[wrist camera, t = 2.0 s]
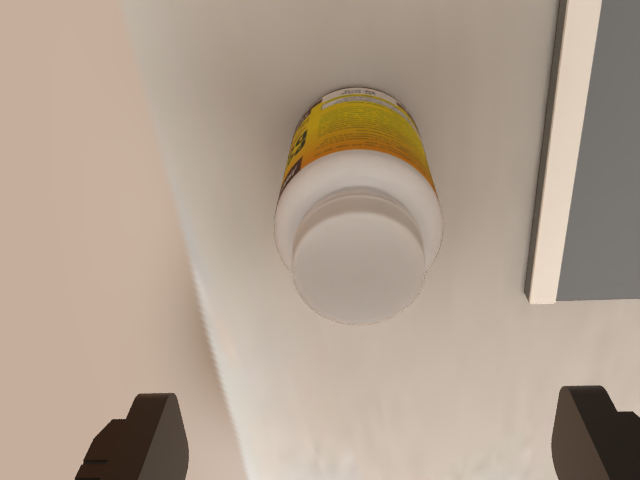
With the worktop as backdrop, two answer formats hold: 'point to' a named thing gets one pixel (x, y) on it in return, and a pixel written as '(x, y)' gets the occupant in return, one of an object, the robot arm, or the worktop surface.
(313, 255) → the supplement bottle
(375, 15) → the worktop surface
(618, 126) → the mat
